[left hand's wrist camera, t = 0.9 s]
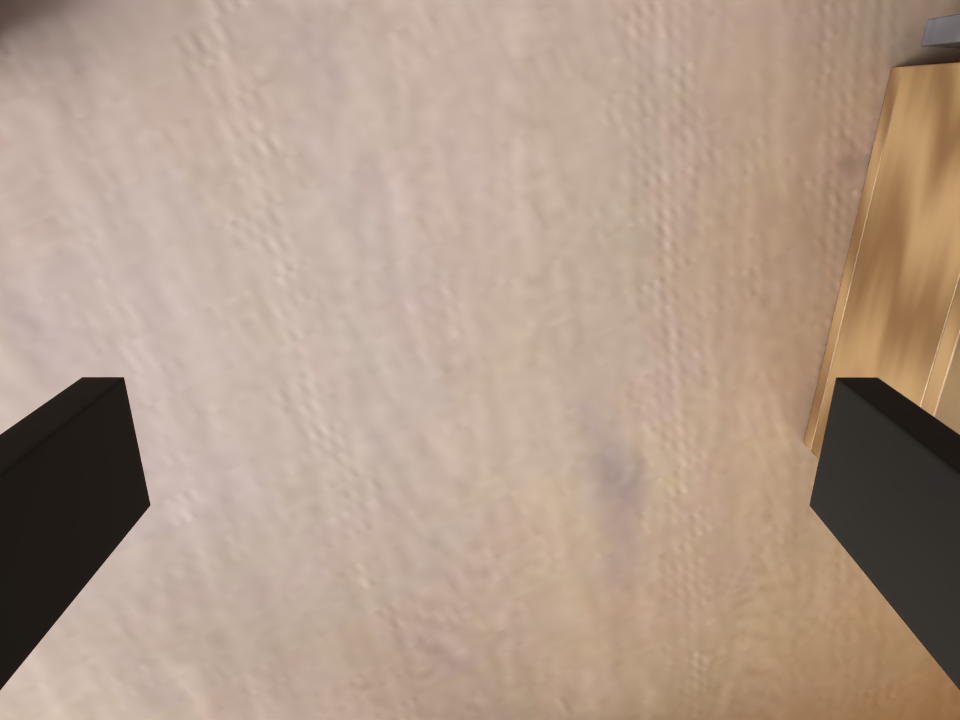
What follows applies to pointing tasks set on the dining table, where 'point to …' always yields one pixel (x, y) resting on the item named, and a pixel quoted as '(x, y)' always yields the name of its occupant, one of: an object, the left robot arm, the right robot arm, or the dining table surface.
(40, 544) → the left robot arm
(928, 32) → the drawer
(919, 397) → the cabinet
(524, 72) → the dining table surface
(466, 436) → the dining table surface
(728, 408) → the dining table surface
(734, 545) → the dining table surface
